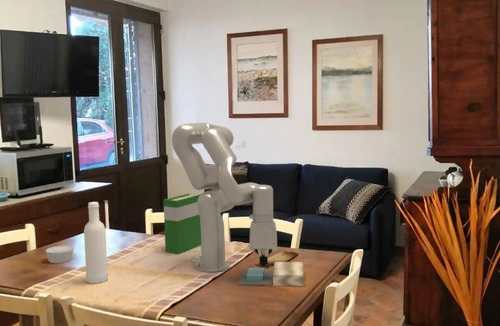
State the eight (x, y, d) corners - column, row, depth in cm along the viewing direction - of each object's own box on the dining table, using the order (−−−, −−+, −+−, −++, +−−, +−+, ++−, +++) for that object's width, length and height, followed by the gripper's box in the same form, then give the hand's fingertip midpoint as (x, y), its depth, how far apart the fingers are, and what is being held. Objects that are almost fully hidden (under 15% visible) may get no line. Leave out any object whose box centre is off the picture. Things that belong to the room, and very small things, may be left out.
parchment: (284, 251, 238) (284, 249, 238) (303, 254, 232) (303, 252, 232) (252, 266, 218) (252, 264, 218) (272, 270, 212) (272, 268, 212)
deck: (272, 285, 193) (272, 275, 193) (274, 271, 209) (274, 261, 208) (303, 286, 192) (303, 275, 192) (302, 272, 208) (302, 262, 208)
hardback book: (189, 243, 254) (187, 193, 252) (202, 245, 251) (200, 194, 248) (165, 252, 239) (163, 199, 237) (178, 254, 235) (176, 201, 233)
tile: (262, 275, 197) (262, 280, 197) (264, 268, 206) (264, 273, 206) (246, 275, 197) (246, 280, 198) (248, 268, 206) (249, 273, 206)
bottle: (85, 278, 205) (81, 201, 201) (106, 275, 208) (102, 200, 204) (87, 285, 197) (83, 205, 194) (109, 282, 200) (105, 203, 197)
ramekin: (40, 263, 226) (39, 251, 226) (59, 256, 237) (58, 244, 236) (61, 265, 222) (60, 253, 222) (79, 258, 233) (78, 246, 232)
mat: (238, 285, 194) (238, 284, 194) (243, 271, 210) (243, 270, 210) (271, 285, 193) (271, 284, 193) (273, 271, 209) (273, 270, 209)
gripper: (242, 220, 196) (242, 268, 198) (282, 220, 194) (283, 269, 197) (244, 215, 203) (244, 262, 205) (283, 216, 202) (283, 263, 204)
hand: (263, 265), depth 201 cm, fingers closed
